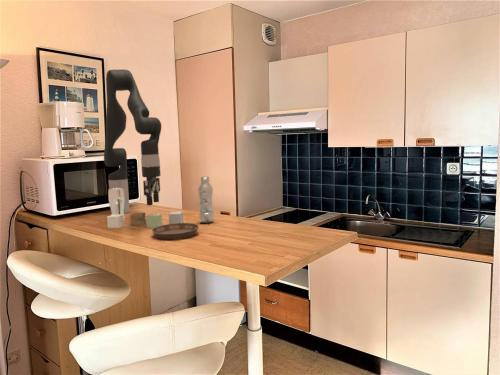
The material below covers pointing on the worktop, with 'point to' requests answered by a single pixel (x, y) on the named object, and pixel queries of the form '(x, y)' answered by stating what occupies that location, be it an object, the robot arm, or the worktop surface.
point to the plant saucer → (175, 231)
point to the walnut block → (138, 219)
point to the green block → (154, 220)
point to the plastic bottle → (205, 201)
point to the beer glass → (116, 201)
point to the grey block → (176, 217)
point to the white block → (115, 221)
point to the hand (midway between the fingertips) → (153, 203)
